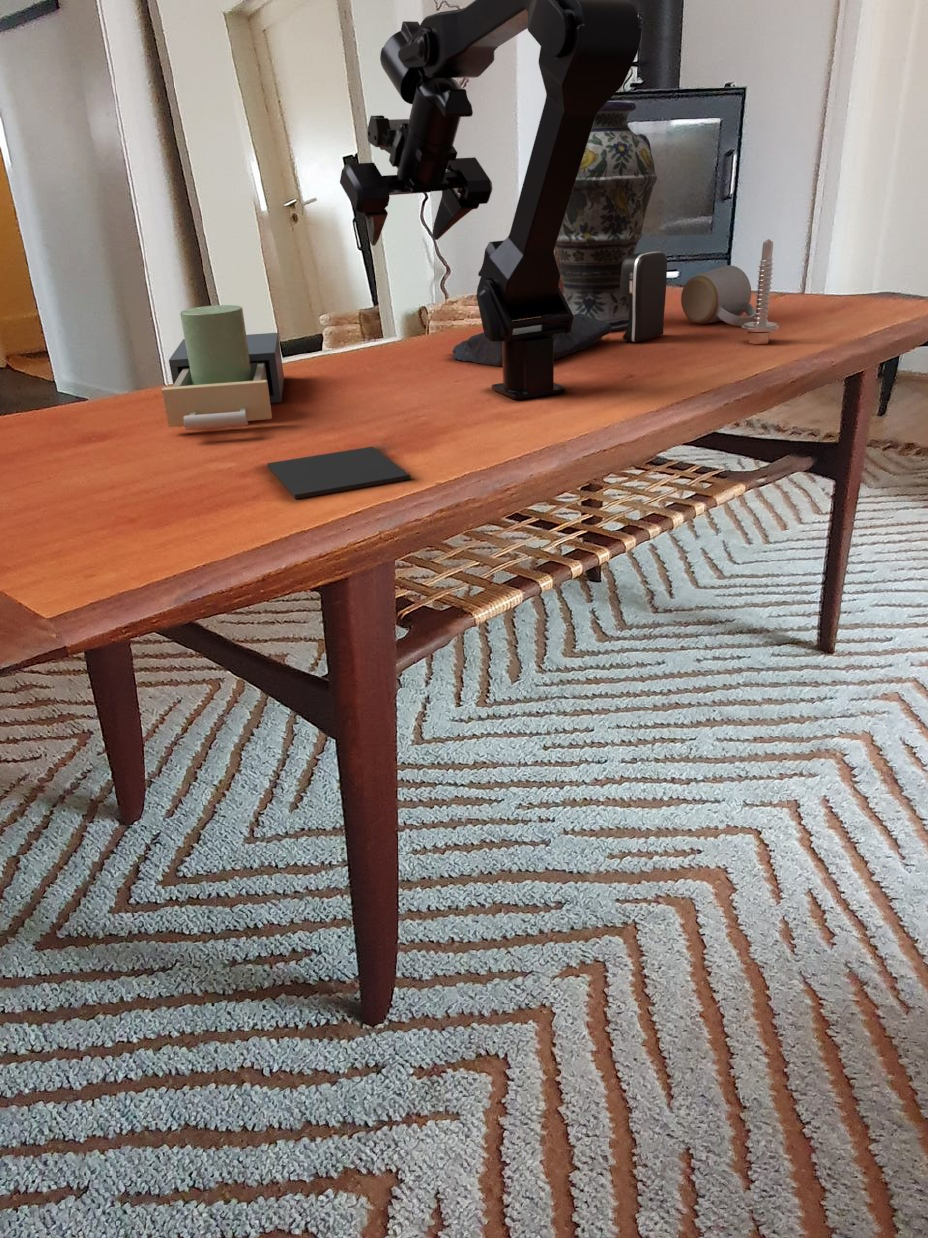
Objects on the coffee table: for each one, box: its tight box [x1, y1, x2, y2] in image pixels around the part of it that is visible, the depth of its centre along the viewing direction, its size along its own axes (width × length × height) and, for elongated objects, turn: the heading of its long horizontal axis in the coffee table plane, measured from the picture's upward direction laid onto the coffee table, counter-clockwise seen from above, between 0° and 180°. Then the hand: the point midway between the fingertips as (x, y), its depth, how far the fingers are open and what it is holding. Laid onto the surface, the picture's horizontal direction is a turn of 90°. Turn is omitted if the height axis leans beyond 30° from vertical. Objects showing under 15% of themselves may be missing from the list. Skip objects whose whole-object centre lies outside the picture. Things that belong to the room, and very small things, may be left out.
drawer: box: [161, 361, 273, 431], centre depth 99 cm, size 16×10×4 cm, turn 9°
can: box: [179, 304, 253, 385], centre depth 100 cm, size 6×6×9 cm
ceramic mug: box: [680, 265, 756, 327], centre depth 139 cm, size 11×8×8 cm
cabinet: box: [168, 332, 285, 404], centre depth 111 cm, size 14×12×6 cm
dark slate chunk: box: [451, 313, 611, 367], centre depth 127 cm, size 15×22×5 cm
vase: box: [555, 100, 658, 333], centre depth 136 cm, size 17×17×30 cm
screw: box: [740, 238, 780, 345], centre depth 123 cm, size 13×5×5 cm
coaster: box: [267, 446, 411, 500], centre depth 82 cm, size 10×10×1 cm
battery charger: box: [620, 251, 668, 343], centre depth 130 cm, size 7×4×11 cm, turn 137°
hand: (403, 240), depth 123 cm, fingers open, 9 cm apart
